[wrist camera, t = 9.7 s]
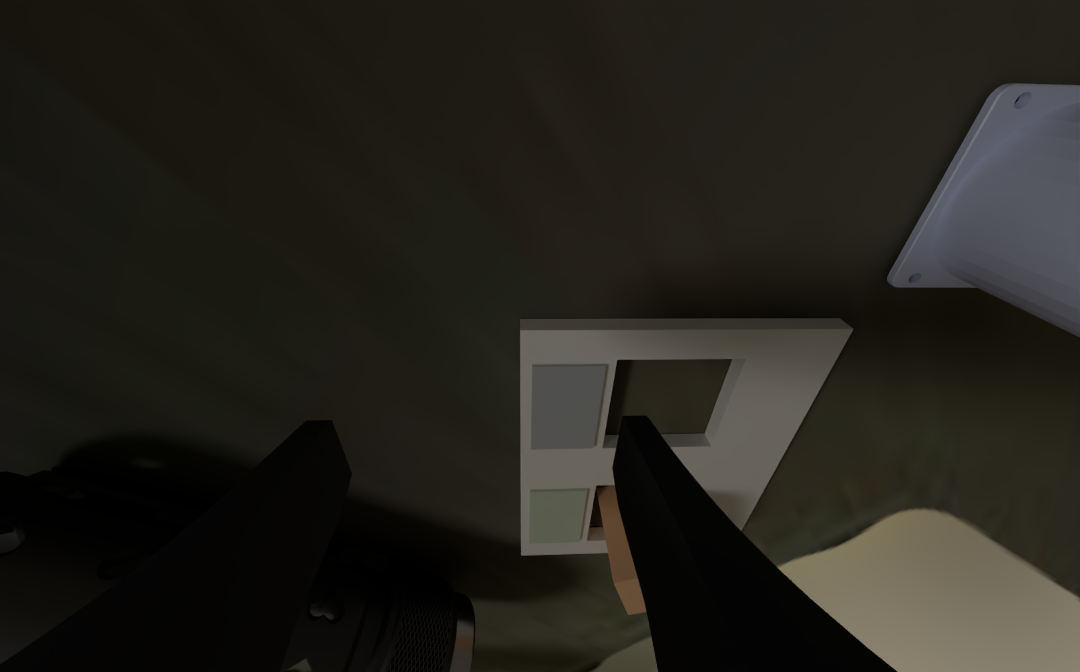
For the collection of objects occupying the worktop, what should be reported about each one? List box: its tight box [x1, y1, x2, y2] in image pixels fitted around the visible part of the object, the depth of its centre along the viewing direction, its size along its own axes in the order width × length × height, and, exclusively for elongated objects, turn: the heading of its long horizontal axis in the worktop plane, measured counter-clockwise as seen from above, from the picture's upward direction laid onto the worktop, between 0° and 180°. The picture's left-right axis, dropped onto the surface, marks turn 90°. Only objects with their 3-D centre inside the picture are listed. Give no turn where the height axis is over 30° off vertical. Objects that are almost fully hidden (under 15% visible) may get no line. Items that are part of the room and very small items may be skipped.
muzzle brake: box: [0, 470, 475, 672], centre depth 24 cm, size 10×28×10 cm, turn 56°
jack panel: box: [520, 318, 853, 556], centre depth 25 cm, size 16×20×1 cm
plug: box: [597, 485, 646, 615], centre depth 26 cm, size 4×5×6 cm
